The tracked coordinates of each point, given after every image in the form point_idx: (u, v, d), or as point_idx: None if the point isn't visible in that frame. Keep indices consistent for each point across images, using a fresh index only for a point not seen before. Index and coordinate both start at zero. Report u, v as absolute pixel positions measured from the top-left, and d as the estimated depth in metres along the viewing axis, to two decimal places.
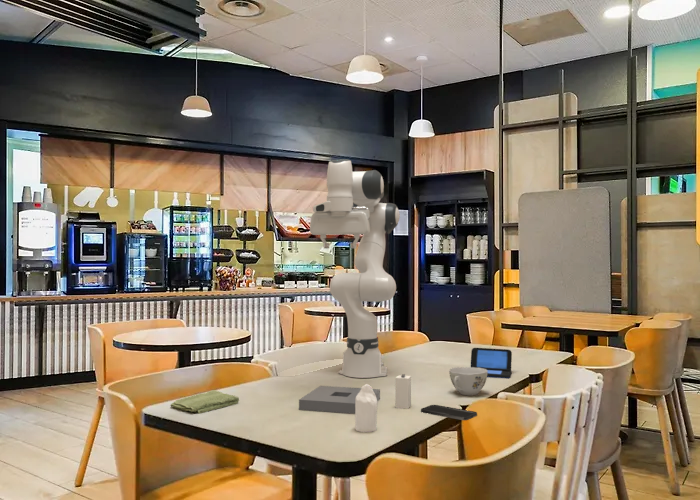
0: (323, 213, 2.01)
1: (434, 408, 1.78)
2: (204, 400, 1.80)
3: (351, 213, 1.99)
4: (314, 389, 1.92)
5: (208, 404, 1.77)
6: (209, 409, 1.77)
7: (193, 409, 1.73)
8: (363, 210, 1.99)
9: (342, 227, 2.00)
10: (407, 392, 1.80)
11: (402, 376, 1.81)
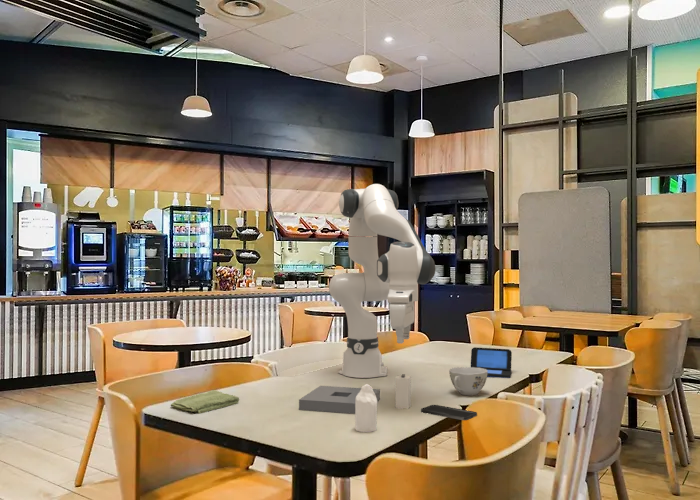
0: (409, 303, 1.77)
1: (434, 408, 1.78)
2: (204, 400, 1.80)
3: None
4: (314, 389, 1.92)
5: (208, 404, 1.77)
6: (209, 409, 1.77)
7: (193, 409, 1.74)
8: None
9: (410, 317, 1.83)
10: (407, 392, 1.80)
11: (402, 376, 1.81)
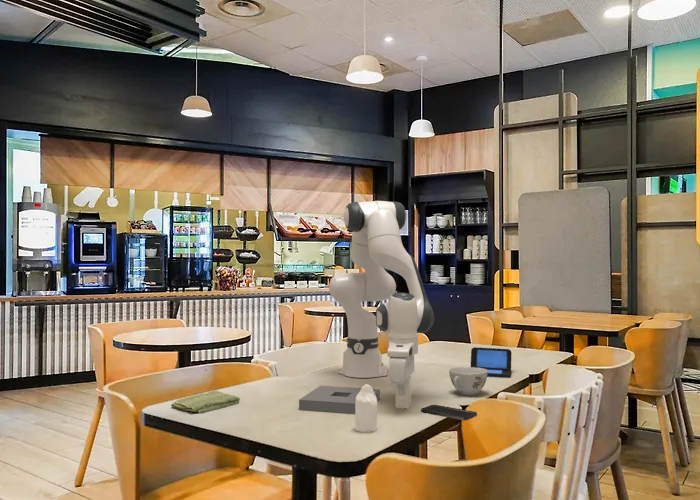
0: (409, 357, 1.77)
1: (434, 408, 1.78)
2: (205, 400, 1.80)
3: None
4: (314, 389, 1.92)
5: (209, 404, 1.77)
6: (210, 409, 1.77)
7: (194, 409, 1.74)
8: None
9: (410, 369, 1.83)
10: (407, 392, 1.80)
11: None
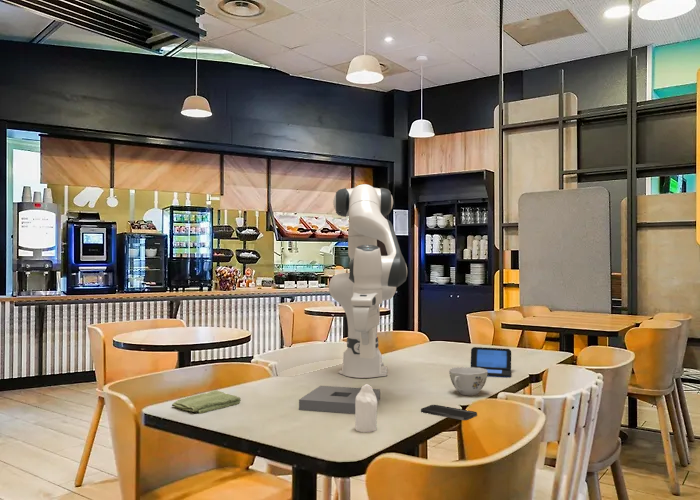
0: (373, 307, 1.79)
1: (434, 408, 1.78)
2: (205, 400, 1.80)
3: None
4: (314, 389, 1.92)
5: (209, 404, 1.77)
6: (210, 409, 1.77)
7: (194, 409, 1.73)
8: None
9: (374, 320, 1.85)
10: (371, 342, 1.82)
11: None
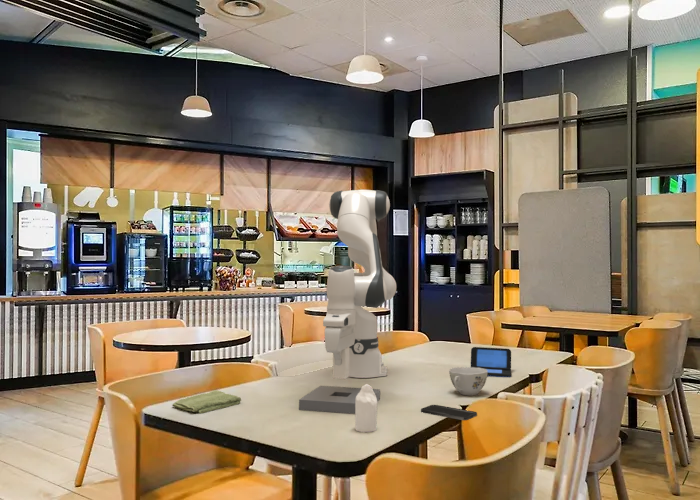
0: (345, 327, 1.80)
1: (434, 408, 1.78)
2: (206, 400, 1.80)
3: (350, 324, 1.89)
4: (314, 389, 1.92)
5: (209, 404, 1.77)
6: (210, 409, 1.77)
7: (194, 409, 1.73)
8: None
9: (348, 340, 1.86)
10: (344, 362, 1.83)
11: None
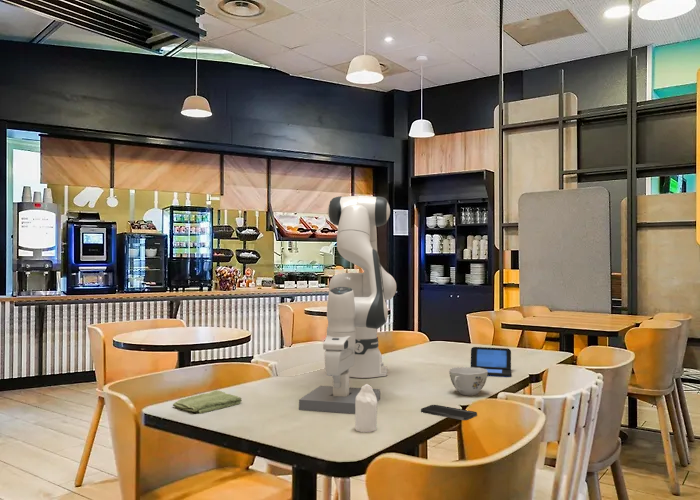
0: (345, 350, 1.80)
1: (434, 408, 1.78)
2: (206, 400, 1.80)
3: None
4: (314, 389, 1.92)
5: (209, 404, 1.77)
6: (210, 409, 1.77)
7: (194, 409, 1.73)
8: None
9: (348, 362, 1.87)
10: (344, 388, 1.83)
11: None
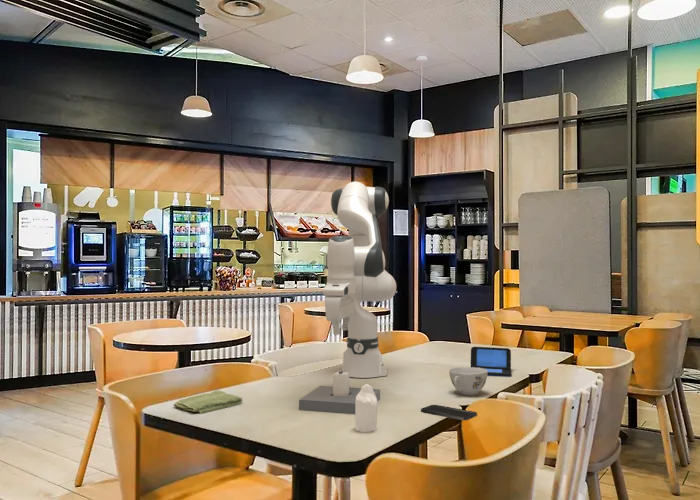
0: (345, 296, 1.83)
1: (434, 408, 1.78)
2: (206, 400, 1.80)
3: (350, 294, 1.92)
4: (314, 389, 1.92)
5: (210, 404, 1.77)
6: (211, 409, 1.76)
7: (194, 409, 1.73)
8: None
9: (348, 309, 1.89)
10: (344, 388, 1.83)
11: (340, 372, 1.85)
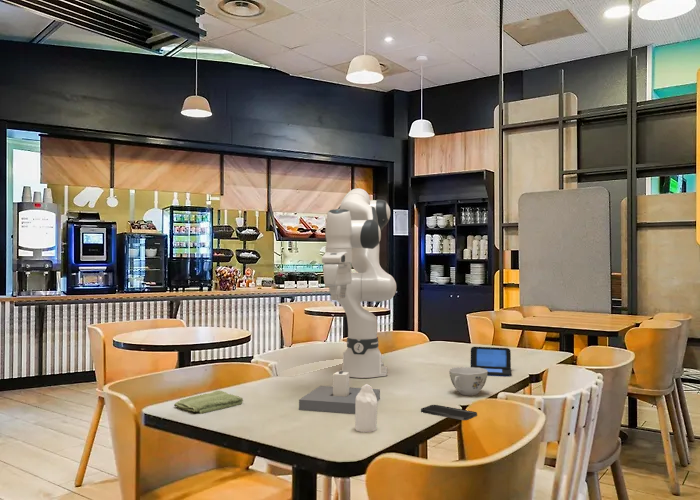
0: (342, 264, 1.95)
1: (434, 408, 1.78)
2: (207, 400, 1.80)
3: (347, 264, 2.04)
4: (314, 389, 1.92)
5: (210, 404, 1.77)
6: (211, 409, 1.76)
7: (195, 409, 1.73)
8: None
9: (345, 278, 2.02)
10: (344, 388, 1.83)
11: (340, 372, 1.85)
